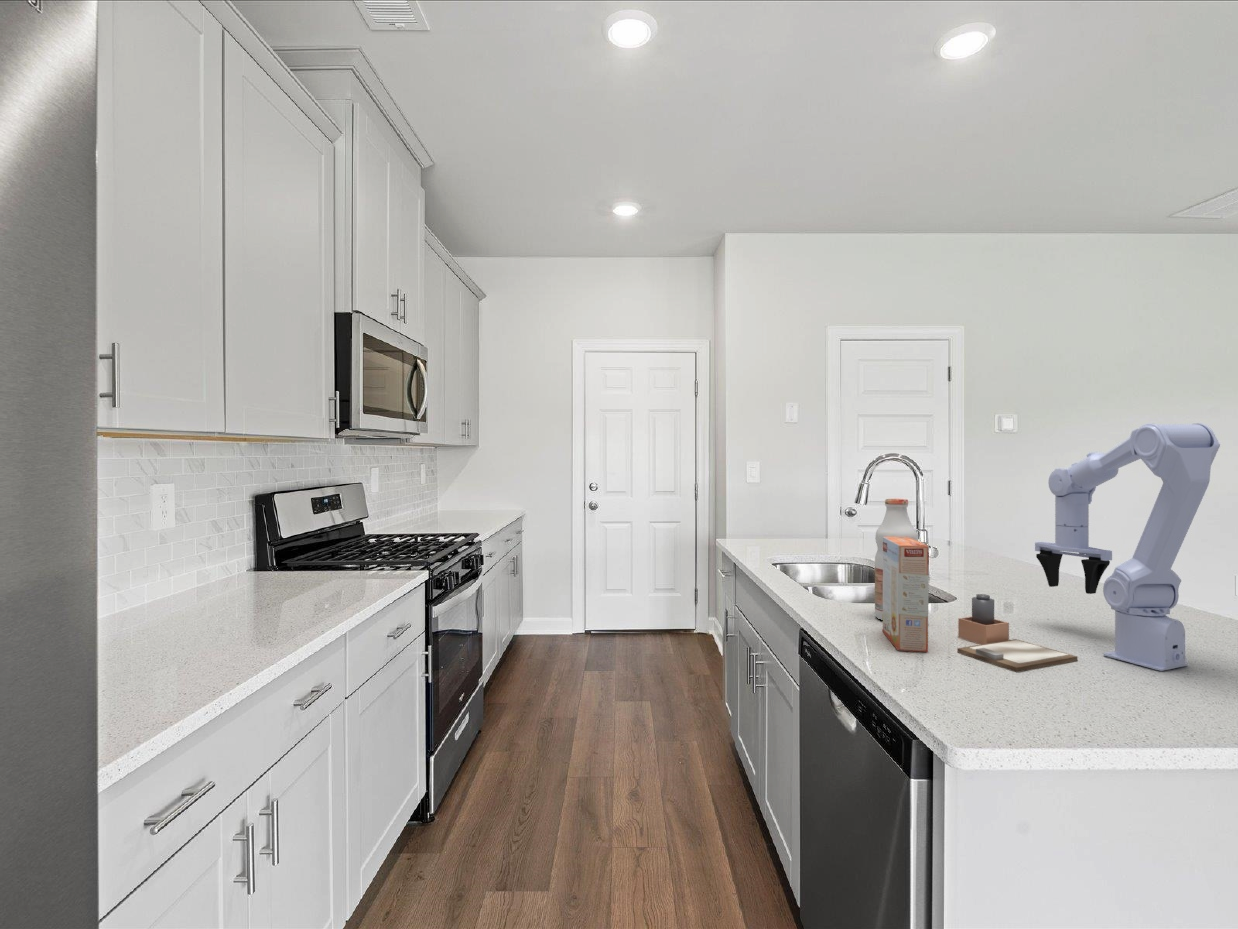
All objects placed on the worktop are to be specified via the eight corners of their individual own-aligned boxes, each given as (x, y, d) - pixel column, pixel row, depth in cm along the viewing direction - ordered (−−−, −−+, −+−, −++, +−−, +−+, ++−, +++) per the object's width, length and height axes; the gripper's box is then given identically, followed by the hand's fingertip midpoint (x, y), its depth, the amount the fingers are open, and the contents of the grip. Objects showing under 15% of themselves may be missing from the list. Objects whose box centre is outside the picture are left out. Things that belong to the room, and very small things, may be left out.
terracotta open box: (1008, 642, 127) (1008, 622, 127) (986, 646, 124) (986, 626, 124) (980, 634, 133) (980, 615, 133) (958, 637, 130) (958, 618, 130)
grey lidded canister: (998, 639, 128) (998, 596, 128) (987, 641, 126) (987, 598, 126) (979, 634, 131) (979, 592, 131) (967, 637, 129) (967, 594, 129)
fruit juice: (893, 612, 151) (892, 497, 151) (928, 621, 143) (928, 499, 142) (865, 617, 147) (865, 498, 146) (900, 627, 138) (900, 501, 138)
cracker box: (930, 653, 120) (930, 545, 120) (897, 652, 121) (896, 544, 121) (911, 633, 134) (911, 536, 133) (881, 632, 135) (881, 535, 135)
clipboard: (1077, 660, 115) (1077, 651, 115) (1016, 672, 109) (1016, 662, 109) (1015, 643, 126) (1015, 634, 126) (957, 652, 120) (957, 643, 120)
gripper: (1121, 528, 127) (1121, 594, 127) (1050, 521, 140) (1050, 581, 140) (1099, 530, 124) (1099, 598, 124) (1028, 523, 138) (1028, 584, 138)
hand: (1071, 589), depth 132 cm, fingers open, 7 cm apart
